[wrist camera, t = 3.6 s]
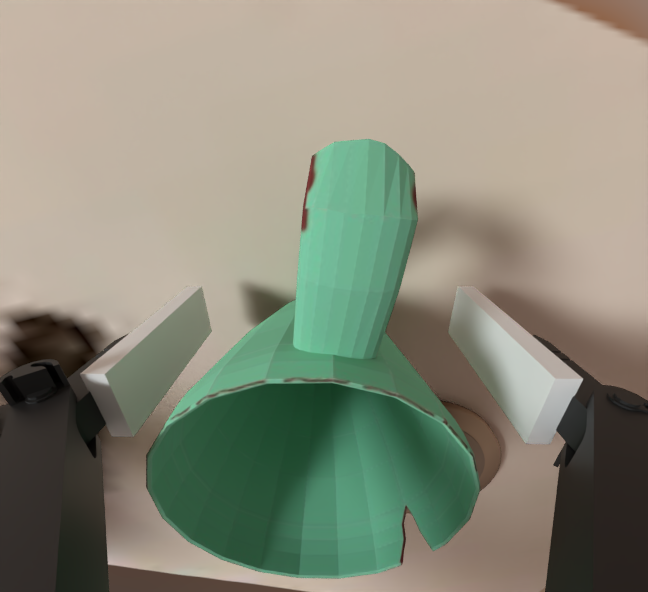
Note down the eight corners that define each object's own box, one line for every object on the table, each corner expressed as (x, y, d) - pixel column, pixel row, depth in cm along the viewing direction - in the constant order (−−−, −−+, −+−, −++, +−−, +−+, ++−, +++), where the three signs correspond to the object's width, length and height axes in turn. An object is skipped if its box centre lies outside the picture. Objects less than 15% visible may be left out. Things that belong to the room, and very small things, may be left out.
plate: (333, 502, 25) (334, 514, 24) (334, 399, 20) (334, 410, 19) (475, 504, 25) (480, 517, 24) (516, 400, 19) (525, 411, 18)
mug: (381, 393, 19) (425, 589, 10) (244, 378, 19) (166, 567, 10) (445, 168, 13) (698, 170, 4) (242, 140, 13) (31, 77, 4)
